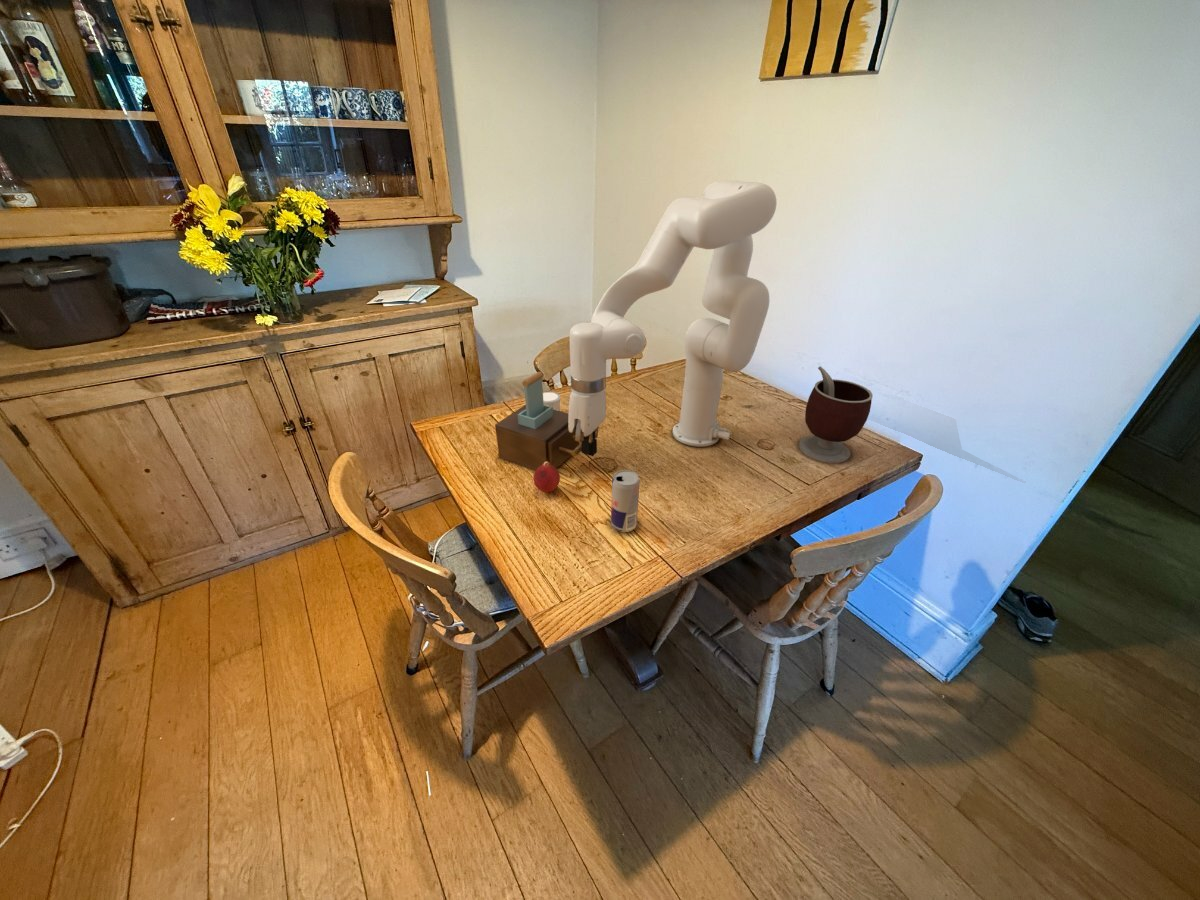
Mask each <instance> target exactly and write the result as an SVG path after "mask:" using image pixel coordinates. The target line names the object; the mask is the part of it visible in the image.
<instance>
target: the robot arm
mask: <svg viewBox="0 0 1200 900" xmlns="http://www.w3.org/2000/svg"><path fill="white" fill-rule="evenodd" d="M776 211H777V195H776V193H775V191H774V190H773V189H772V187H770V186H769V185H768V184H766V183H763V182H752V181H751V182H750V181H741V180H740V181H739V180H716V181H713V182H711V183H709V184H708V185H707V186H706V187H705V188H704V190H703V191H702V194H701V197H696V196H695V197H694V196H681V197H678V198H676V199H674V200H673V201H671V202H670V204H668V206H667V208H666V209H665V211H664V213H663V215H662V216H661V218H660V220H659V222H658V224H657V225H656V227H655V229H654V231H653V233H652V234H651V236H650V238H649V239H648V242H647V244H646V246H645V248H644V249H643V251H642V253H641V254H640V256H639V258H638V259H637V261H636V263H635V264H634V265H633V266H632V267H630V268H629V269H628V270H627V271H625V272H624V273H623V274H621V276H619V278H618V279H616V280H615V281H614V282H613V283H612V284H611V285H610V286H609V287H608V288H607V289H606V291H605V292H604V293H603V295H602V296H601V299H600V300H599V302H598V304H597V306H596V307H595V310H594V311H593V313H592V316H591V318H590V320H589V321H588V322H580V323H576V324H574V325H572V326H571V328H570V330H569V363H570V366H569V367H570V390H571V392H570V394H569V395H570V396H569V401H568V414H569V415H568V428H569V432H571V433H572V432H573V431H575V430H576V435H575V441H578V442H580V443H582V451H581V453H582V454H583V455H586V456H589V457H590V456H591V457H595V455H596V454H597V453H598V440H597V438H598V436H599V428H600V426H601V425H602V424H603V423H604V422H605V420H606V416H607V396H606V395H607V393H606V390H607V360H624V359H625V360H626V359H631V358H634V357H637V355H639V354H640V353H641V352H642V351H643V350H644V348H645V346H646V334H645V332H644V330H643V329H642V328H641V327H640V325H638V324H636V323H635V322H633V321H630V320H628V319H627V318H624V317H625V316H626V314H627V312H628V311H629V309H630V308H631V307H632V306H633V305H634V304H635V303H636V302H637V301H638V300H639V299H641V298H643V297H645V296H647V295H651V294H653V293H656V292H659V291H663V290H665V289H667V288H669V287H671V286H672V285H674V283H675V281H676V279H677V277H678V275H679V274H680V271H681V270H682V268H683V266H684V265H685V263H686V261H687V259H688V258H689V256H690V254H691V252H692V251H693V249H694V248H700V249H702V250H713V251H712V256H711V260H710V264H709V268H708V272H707V276H706V279H705V283H704V287H703V291H702V296H701V302H702V306H703V308H704V309H705V310H707V311H708V312H710V313H712V314H714V315H716V316H719V317H721V318H724V319H726V320H729V323H728V324H727V323H726V322H723V321H720V320H718V319H714V318H711V317H701V318H698V319H695V320H694V321H693V322H691V323H690V325H689V326H688V328H687V329H686V332H685V334H684V335H685V336H684V351H685V352H684V353H685V354H684V355H685V370H684V378H683V379H684V380H683V386H682V387H683V390H682V397H681V398H682V399H681V403H680V404H681V405H680V412H679V413H680V415H679V422H678V423H676V424H675V425H674V426H673V427H672V437H674V439H675V440H677V441H678V442H679V443H681V444H684V445H686V446H691V447H695V448H696V447H699V448H703V447H709V446H712V445H714V444H716V443H717V442H718V441H719V440H720V439H721V440H726V441H730V439H731V432H729V428H726V427H721V426H720V425H719V423H720V420H718V419H717V417H718V411H719V406H720V400H721V392H722V387H723V382H724V371H726V372H728V373H729V372H730V373H737V372H740V371H742V370H743V369H745V368H746V367H747V366H748V364H749V363H750V362H751V360H752V358H753V356H754V353H755V351H756V348H757V345H758V342H759V339H760V337H761V333H762V330H763V328H764V325H765V322H766V318H767V315H768V311H769V309H770V308H769V307H770V301H771V299H770V292H769V289H768V286H766V284H765V283H764V282H763V281H761V280H759V279H756V278H753V277H750V276H748V275H749V274H748V273H749V270H750V265H751V261H752V257H753V252H754V241H753V235H754V234H757V233H759V232H761V231H762V230H763V229H765V228H766V227H767V226H768V225H769V223H770V222H771V220H772V219H773V218H774V215H775V213H776Z"/></svg>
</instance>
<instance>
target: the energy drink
mask: <svg viewBox="0 0 1200 900" xmlns="http://www.w3.org/2000/svg"><path fill="white" fill-rule="evenodd" d="M640 482H641V481H640V477H639V474H638V473H637V472H635V471H633V470H629V469H622V470H618V471H616V472H615V473H614V474H613V477H612V480H611V505H610V506H611V507H610V508H611V509H610V526H611V527H612V528H613V529H614V530H615V531H617V532H619V533H630V532H632V531H634V530H635V529H636V528H637V525H638V515H639V513H638V512H639V511H638V510H639V498H640V485H641V484H640Z"/></svg>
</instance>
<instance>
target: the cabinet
mask: <svg viewBox="0 0 1200 900" xmlns="http://www.w3.org/2000/svg"><path fill="white" fill-rule="evenodd" d="M525 409H526V404H524V405H522V406H521V407H519V408H518V409H516V410H514V411H513V412H512V413H510V414H509V415H507V416H506V417H504V418H503V419H501V420H500V421H498V422H497V423H495V424H494V427H495V436H496V443H497V450H498V451H497V452H498V457H499V459H502V460H504V461H507V462H510V463H513V464H516V465H518V466H522V467H525V468H528V469H529V470H533V471H536V470H537V468H538V467H540V466H541V465H543V464H544V462H547V461H548V450H547V441H549V440H550V439H551V438H552V437H554V436H555V435H556V434H557V433H559V432H560V431H561V430H562V429H564V428H565V427H566V426H567V425H568V415H569V412H564V411H561V410H559V411H558V410H554V409H553V417H551V418H550V419H548V420H547V421H546V422H544V423H543V424H542V425H540V426H539V427H538V428H536V429H533V428H530V427H527V426H523V425H520V424H518V414H519V413H521V412H522V411H524V410H525Z"/></svg>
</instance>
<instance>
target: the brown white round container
mask: <svg viewBox="0 0 1200 900" xmlns="http://www.w3.org/2000/svg"><path fill="white" fill-rule="evenodd" d="M543 402H544V405H548V406H551V407H553V409H554V410H558V411H561V409H560V408H561V407H560V406H561V395H560V393H558V392H556V391H543Z"/></svg>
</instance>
